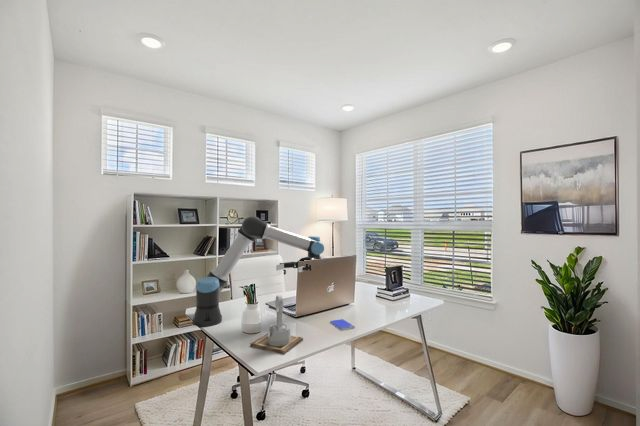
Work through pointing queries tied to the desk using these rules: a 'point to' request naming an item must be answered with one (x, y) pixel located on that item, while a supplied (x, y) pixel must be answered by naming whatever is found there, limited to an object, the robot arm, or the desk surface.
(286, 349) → the walnut board
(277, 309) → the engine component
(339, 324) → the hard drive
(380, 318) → the desk surface
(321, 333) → the desk surface
